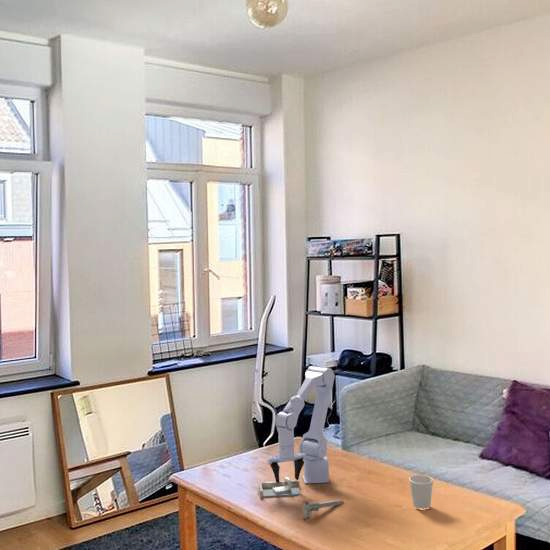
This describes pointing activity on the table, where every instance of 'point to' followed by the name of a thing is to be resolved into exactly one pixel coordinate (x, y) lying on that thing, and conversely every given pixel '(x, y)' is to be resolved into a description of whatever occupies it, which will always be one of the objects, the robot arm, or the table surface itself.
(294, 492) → the board
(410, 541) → the table surface
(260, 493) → the side wall
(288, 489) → the bracket
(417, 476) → the dixie cup
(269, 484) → the back wall
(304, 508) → the caliper
